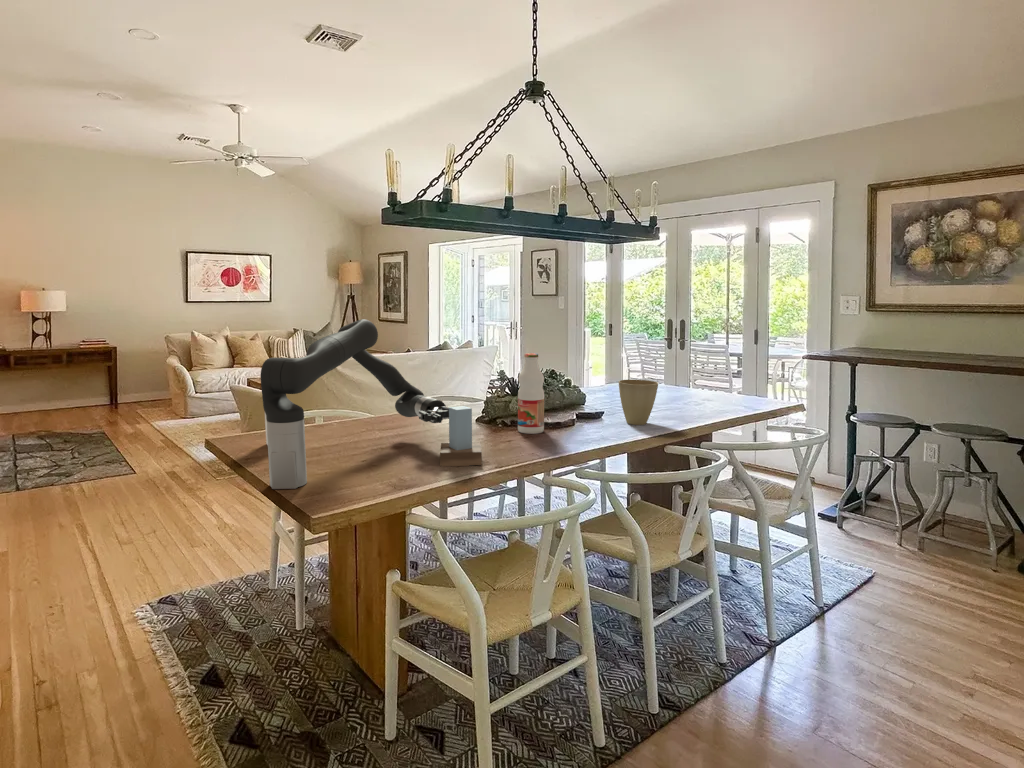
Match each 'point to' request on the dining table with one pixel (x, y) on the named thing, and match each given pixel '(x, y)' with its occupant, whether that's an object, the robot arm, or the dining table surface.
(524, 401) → the fruit juice
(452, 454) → the walnut plinth
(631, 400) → the plant pot
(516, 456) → the dining table surface
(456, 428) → the blue block
